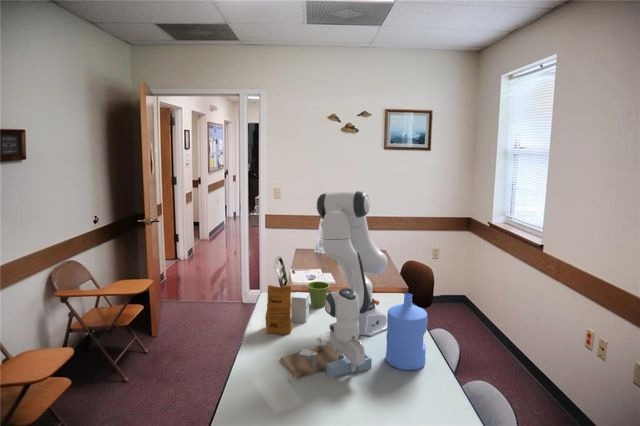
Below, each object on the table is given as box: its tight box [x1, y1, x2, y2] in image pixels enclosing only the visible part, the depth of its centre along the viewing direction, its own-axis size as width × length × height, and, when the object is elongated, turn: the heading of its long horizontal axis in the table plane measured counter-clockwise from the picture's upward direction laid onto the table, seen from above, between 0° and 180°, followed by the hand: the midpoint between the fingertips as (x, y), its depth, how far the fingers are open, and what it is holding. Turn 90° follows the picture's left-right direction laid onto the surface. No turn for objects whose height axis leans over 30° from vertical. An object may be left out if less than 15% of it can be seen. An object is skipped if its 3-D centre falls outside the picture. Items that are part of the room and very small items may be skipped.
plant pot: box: [306, 281, 330, 309], centre depth 227 cm, size 12×12×11 cm
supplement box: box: [291, 291, 310, 324], centre depth 210 cm, size 7×7×13 cm
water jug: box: [385, 293, 428, 371], centre depth 171 cm, size 16×16×28 cm
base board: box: [279, 344, 339, 379], centre depth 172 cm, size 22×15×1 cm
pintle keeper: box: [299, 337, 323, 369], centre depth 171 cm, size 16×6×6 cm, turn 157°
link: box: [325, 352, 373, 379], centre depth 167 cm, size 17×6×4 cm, turn 119°
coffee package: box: [265, 284, 293, 336], centre depth 198 cm, size 10×12×22 cm
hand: (346, 365), depth 166 cm, fingers open, 7 cm apart
